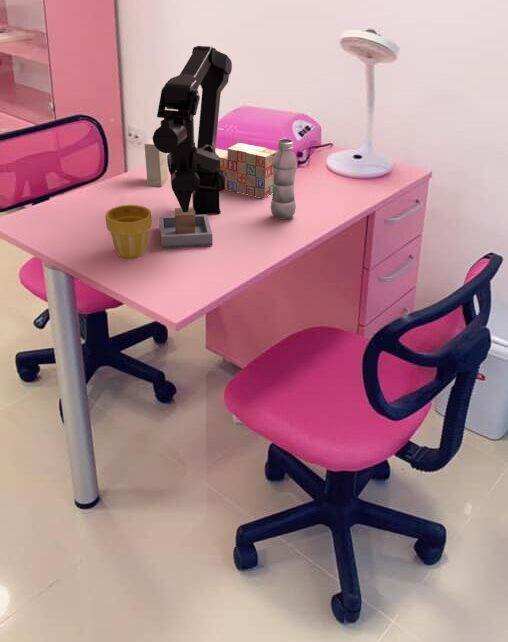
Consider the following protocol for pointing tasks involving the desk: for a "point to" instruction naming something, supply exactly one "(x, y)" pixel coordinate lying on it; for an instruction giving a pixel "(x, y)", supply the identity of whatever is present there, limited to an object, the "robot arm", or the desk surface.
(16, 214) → the desk surface
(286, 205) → the plastic bottle
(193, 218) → the walnut block
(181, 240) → the tray
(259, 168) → the stack of blocks
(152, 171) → the skincare box
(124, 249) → the plant pot
